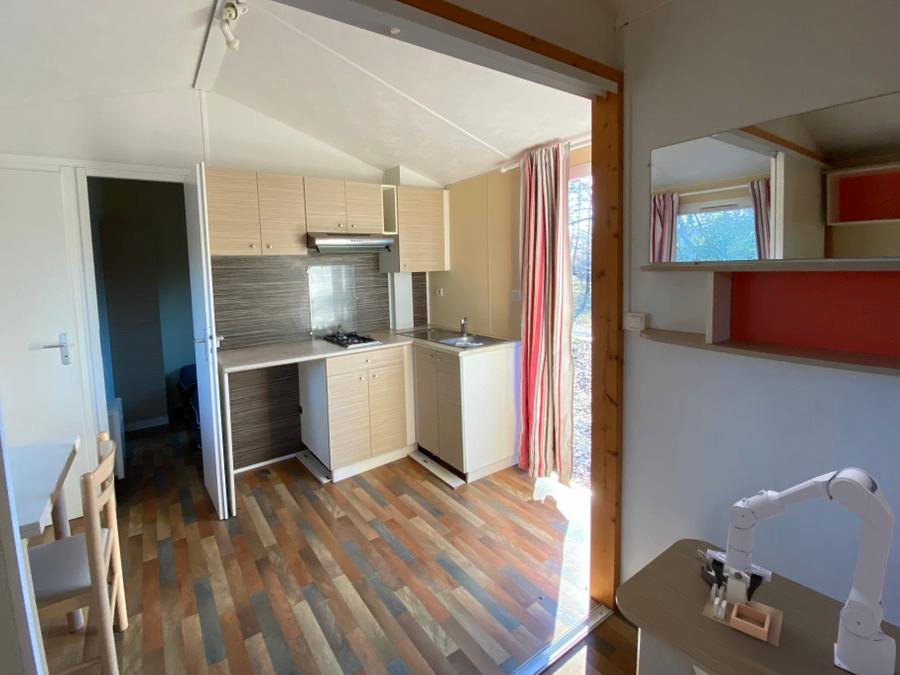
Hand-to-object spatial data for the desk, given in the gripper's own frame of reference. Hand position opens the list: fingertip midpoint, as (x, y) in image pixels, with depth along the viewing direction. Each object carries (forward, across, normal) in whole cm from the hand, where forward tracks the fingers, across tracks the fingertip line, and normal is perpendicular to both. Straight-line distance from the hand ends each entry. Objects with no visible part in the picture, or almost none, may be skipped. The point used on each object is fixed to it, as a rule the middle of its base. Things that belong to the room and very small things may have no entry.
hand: (734, 593), depth 121 cm
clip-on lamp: (+4, +5, -11) cm, 13 cm away
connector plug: (+2, -1, 0) cm, 2 cm away
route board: (+3, -3, +4) cm, 6 cm away
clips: (+2, +3, +6) cm, 7 cm away
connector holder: (+3, -5, +8) cm, 10 cm away
